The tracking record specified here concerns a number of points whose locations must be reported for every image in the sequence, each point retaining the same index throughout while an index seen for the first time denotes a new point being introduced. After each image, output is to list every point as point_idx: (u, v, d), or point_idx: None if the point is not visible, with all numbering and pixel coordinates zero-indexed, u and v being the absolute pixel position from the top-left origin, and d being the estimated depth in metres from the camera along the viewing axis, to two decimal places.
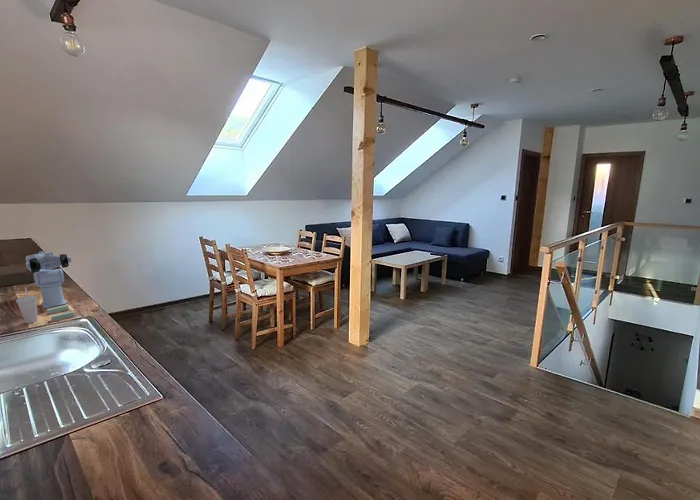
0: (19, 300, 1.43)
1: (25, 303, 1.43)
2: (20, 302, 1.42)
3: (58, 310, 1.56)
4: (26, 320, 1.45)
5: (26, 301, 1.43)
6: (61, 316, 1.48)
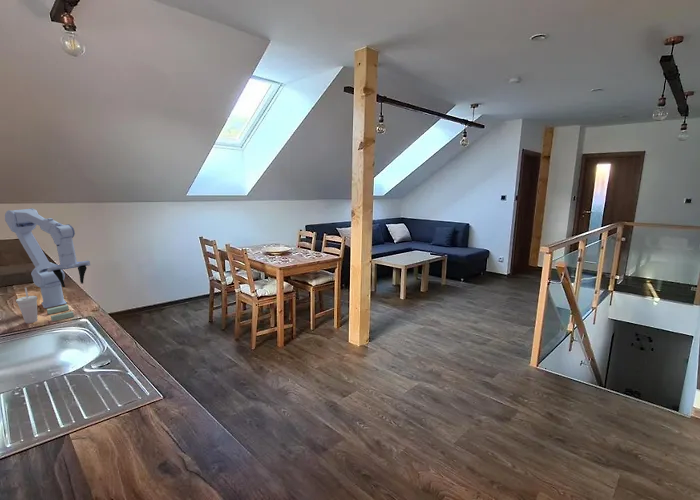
0: (19, 300, 1.43)
1: (25, 303, 1.43)
2: (20, 302, 1.42)
3: (58, 310, 1.56)
4: (26, 320, 1.45)
5: (26, 301, 1.43)
6: (61, 316, 1.48)
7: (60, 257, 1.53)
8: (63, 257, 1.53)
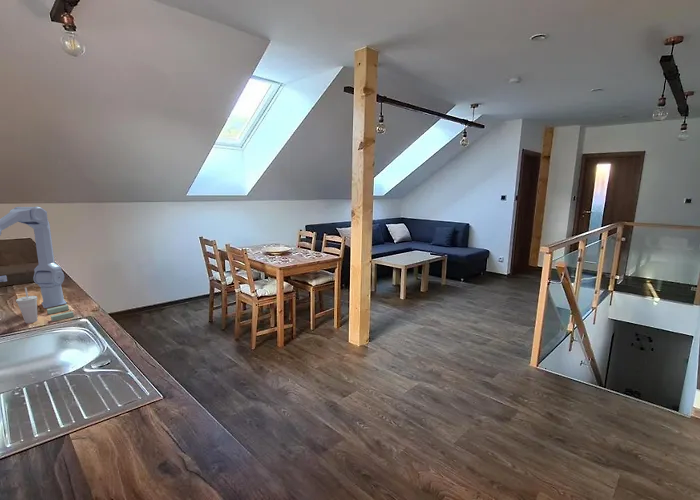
0: (19, 300, 1.43)
1: (25, 303, 1.43)
2: (20, 302, 1.42)
3: (58, 310, 1.56)
4: (26, 320, 1.45)
5: (26, 301, 1.43)
6: (61, 316, 1.48)
7: None
8: None
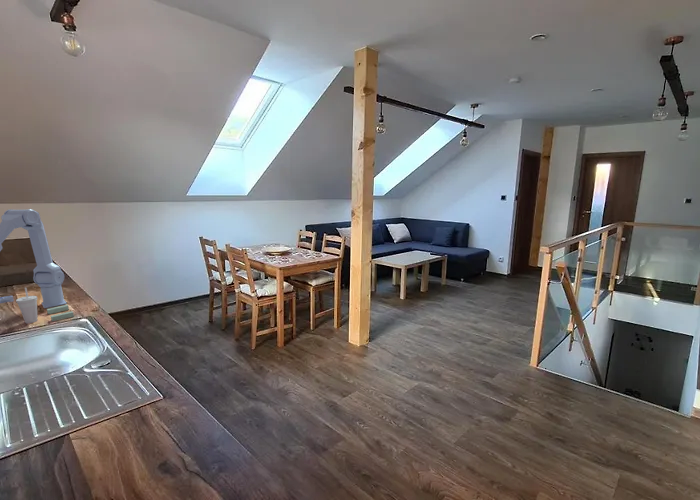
0: (19, 300, 1.43)
1: (25, 303, 1.43)
2: (20, 302, 1.42)
3: (58, 310, 1.56)
4: (26, 320, 1.45)
5: (26, 301, 1.43)
6: (61, 316, 1.48)
7: None
8: None
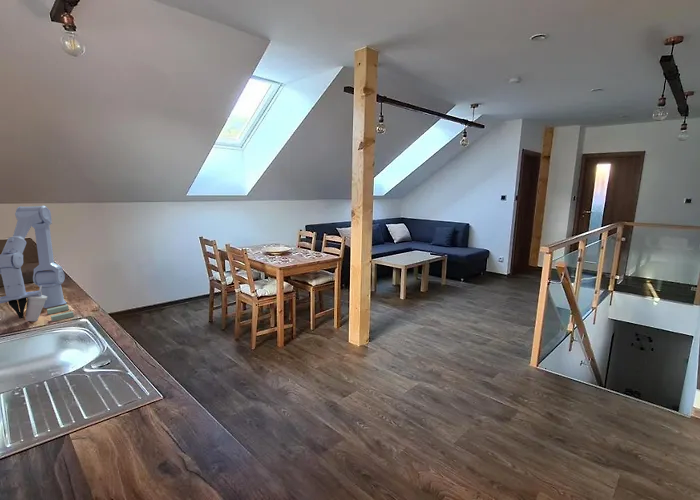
0: (30, 296, 1.45)
1: (35, 300, 1.44)
2: (30, 298, 1.44)
3: (58, 310, 1.56)
4: (27, 317, 1.45)
5: (36, 299, 1.45)
6: (61, 316, 1.48)
7: (6, 288, 1.39)
8: (9, 288, 1.39)
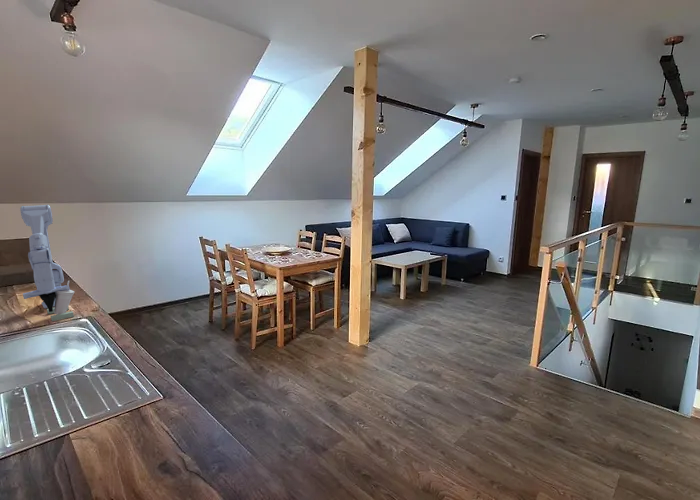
0: (59, 291, 1.51)
1: (64, 295, 1.51)
2: (60, 293, 1.50)
3: None
4: (56, 311, 1.51)
5: (65, 293, 1.51)
6: (61, 316, 1.48)
7: (37, 283, 1.46)
8: (40, 283, 1.45)
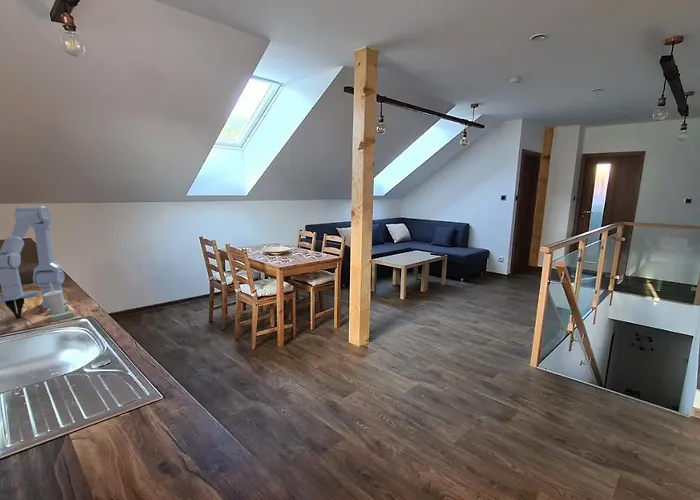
0: (46, 295, 1.48)
1: (52, 297, 1.48)
2: (47, 297, 1.48)
3: None
4: (55, 313, 1.51)
5: (53, 295, 1.48)
6: (61, 316, 1.48)
7: (3, 289, 1.39)
8: (6, 289, 1.39)
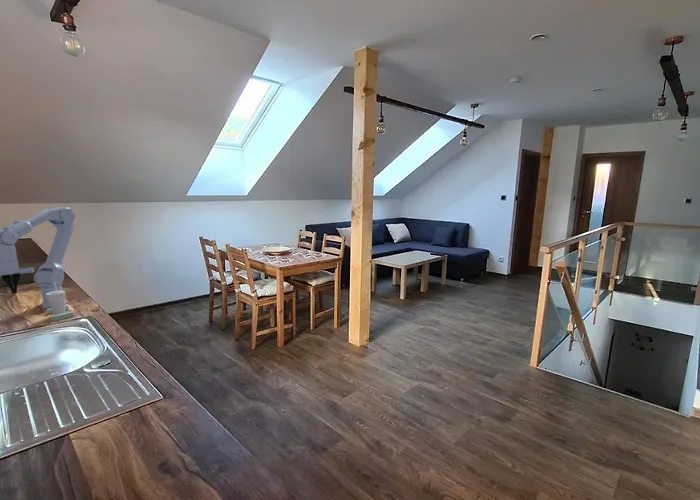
0: (49, 294, 1.49)
1: (55, 297, 1.49)
2: (50, 296, 1.48)
3: None
4: (55, 313, 1.51)
5: (56, 295, 1.49)
6: (61, 316, 1.48)
7: (0, 263, 1.44)
8: (3, 263, 1.44)
